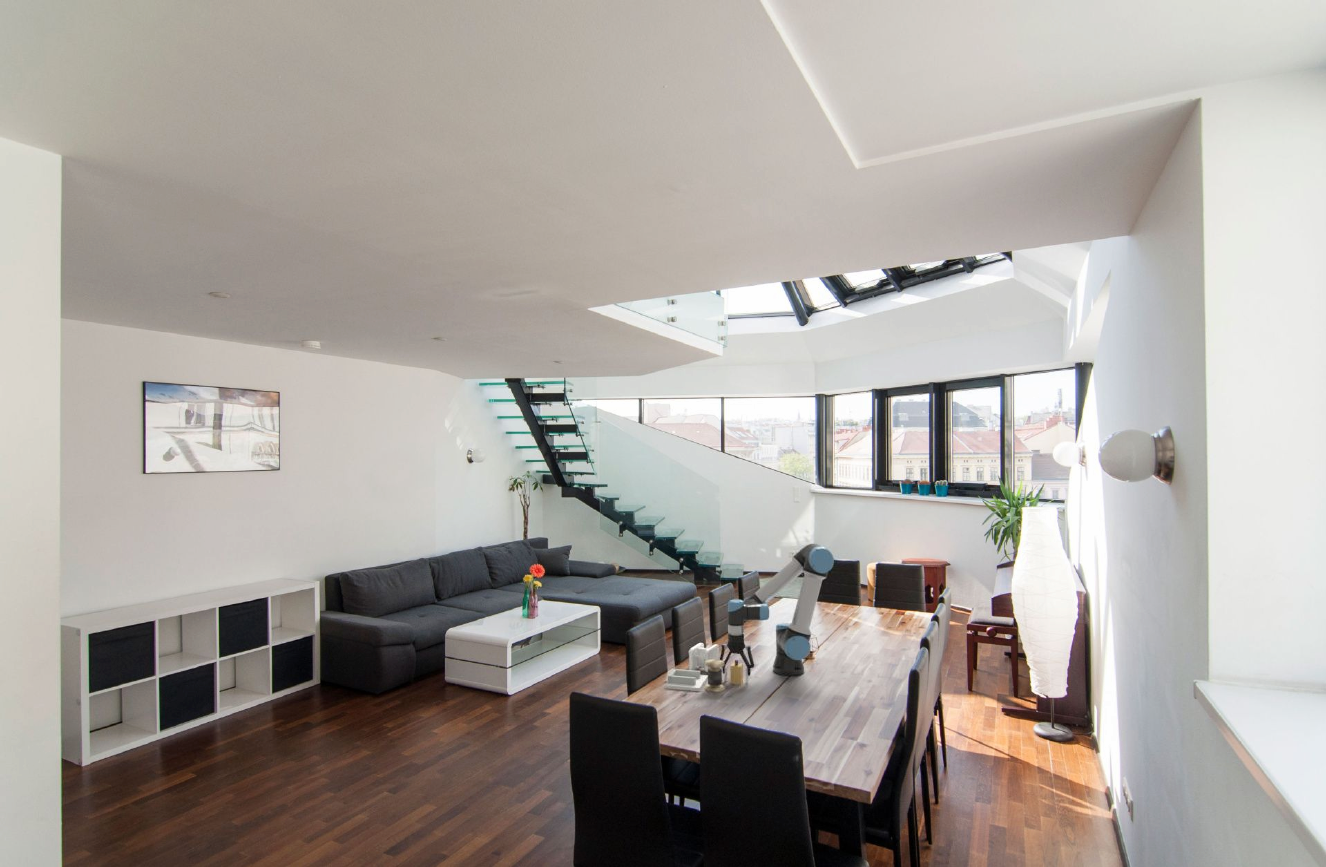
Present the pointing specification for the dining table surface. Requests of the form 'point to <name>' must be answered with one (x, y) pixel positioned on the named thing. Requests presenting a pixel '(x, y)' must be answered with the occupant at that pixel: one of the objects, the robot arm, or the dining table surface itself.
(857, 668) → the dining table surface
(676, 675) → the grey square tray
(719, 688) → the bobbin
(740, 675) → the yellow bottle
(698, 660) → the cable organizer
